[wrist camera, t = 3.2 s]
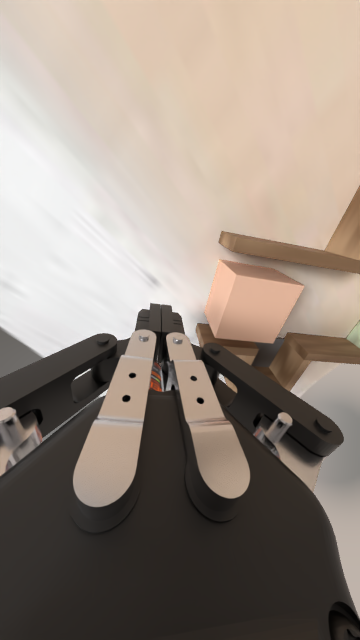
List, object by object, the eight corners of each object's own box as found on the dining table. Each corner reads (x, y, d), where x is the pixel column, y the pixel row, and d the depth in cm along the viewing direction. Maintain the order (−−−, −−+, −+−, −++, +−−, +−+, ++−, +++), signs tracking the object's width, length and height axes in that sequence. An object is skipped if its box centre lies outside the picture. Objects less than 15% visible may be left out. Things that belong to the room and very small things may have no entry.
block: (219, 259, 18) (236, 275, 14) (273, 268, 20) (304, 285, 15) (204, 311, 21) (214, 337, 17) (251, 317, 23) (273, 343, 18)
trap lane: (244, 144, 14) (271, 124, 11) (459, 204, 18) (530, 203, 14) (186, 366, 26) (190, 390, 22) (323, 374, 29) (345, 397, 26)
